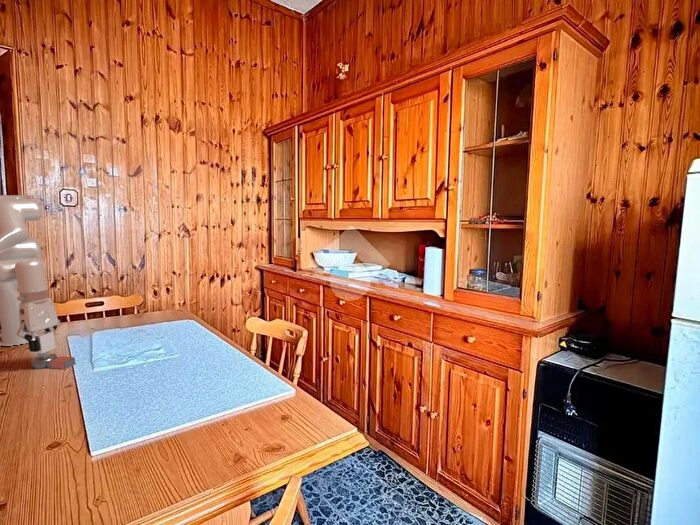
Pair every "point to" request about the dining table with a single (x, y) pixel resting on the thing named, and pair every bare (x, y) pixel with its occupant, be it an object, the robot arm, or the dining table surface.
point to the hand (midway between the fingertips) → (42, 347)
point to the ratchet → (52, 361)
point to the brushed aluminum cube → (45, 341)
